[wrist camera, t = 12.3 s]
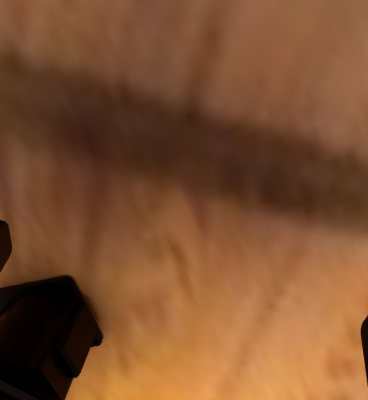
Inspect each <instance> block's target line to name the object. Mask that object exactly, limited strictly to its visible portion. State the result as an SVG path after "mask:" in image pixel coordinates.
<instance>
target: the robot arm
mask: <svg viewBox="0 0 368 400" xmlns="http://www.w3.org/2000/svg"><path fill="white" fill-rule="evenodd" d="M11 252H12V243H11V237H10V231H9V226H8V224H7V222H5V221H3V220H0V272H1V271H2V269H3V267H4V266H5V264H6V262H7V260H8V259H9V257H10V255H11ZM65 283H66V284H68V285H66V284H65ZM102 340H103V336H102V334H101V332H100V330H99V328H98V325H97V324H96V322H95V320H94V318H93V316H92V314H91V312H90V310H89V308H88V306H87V304H86V303H85V302H84V300H83V298H82V296H81V294H80V292H79V290H78V288H77V286H76V285H75V283H74V281H73V280H72V278H70V277H67V276H64V277H59V278H54V279H49V280H43V281H38V282H33V283H28V284H23V285H18V286H13V287H8V288H3V289H0V400H65V398H66V395H67V393H68V390H69V388H70V385H71V383H72V380H73V378H76V377H78V376H79V374H80V373H81V370H82V368H83V365H84V362H85V360H86V357H87V355H88V352H89V350H90V347H94V346H99V345H101V343H102ZM361 340H362V347H363V355H364V362H365V370H366V377H367V385H368V316H367V317H366V318H365V320H364V321H363V323H362V326H361Z"/></svg>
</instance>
